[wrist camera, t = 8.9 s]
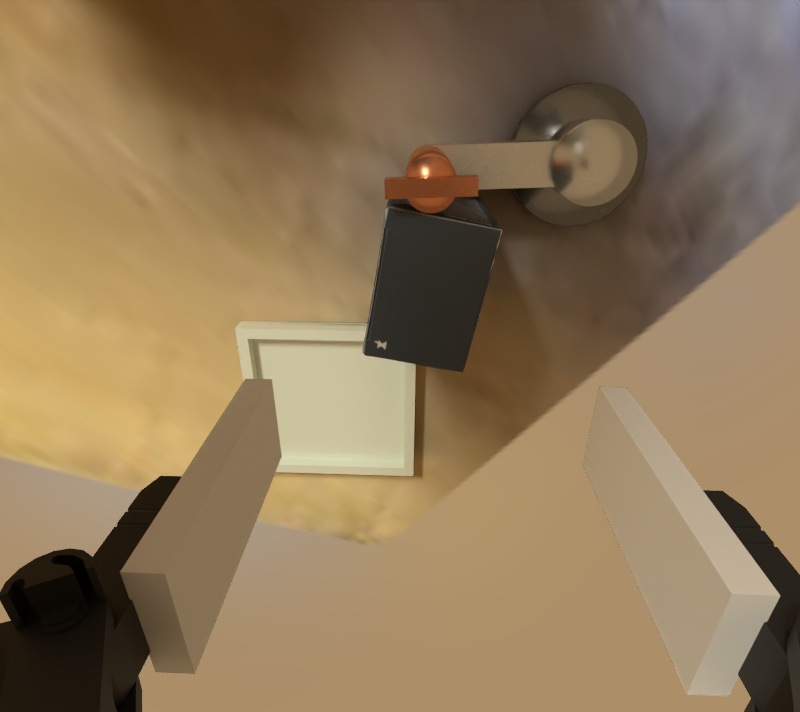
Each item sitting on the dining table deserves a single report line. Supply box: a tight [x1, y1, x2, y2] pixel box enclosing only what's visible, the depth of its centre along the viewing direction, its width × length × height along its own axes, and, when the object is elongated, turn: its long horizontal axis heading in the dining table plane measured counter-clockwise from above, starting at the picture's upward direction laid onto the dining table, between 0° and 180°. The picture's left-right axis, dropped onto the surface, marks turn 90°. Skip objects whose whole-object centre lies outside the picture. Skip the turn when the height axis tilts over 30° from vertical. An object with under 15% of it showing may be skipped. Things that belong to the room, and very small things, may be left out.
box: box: [363, 196, 502, 372], centre depth 29 cm, size 8×6×11 cm
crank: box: [385, 118, 638, 213], centre depth 25 cm, size 13×4×10 cm, turn 92°
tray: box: [235, 321, 416, 476], centre depth 39 cm, size 13×13×1 cm
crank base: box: [512, 83, 647, 226], centre depth 30 cm, size 8×8×1 cm
